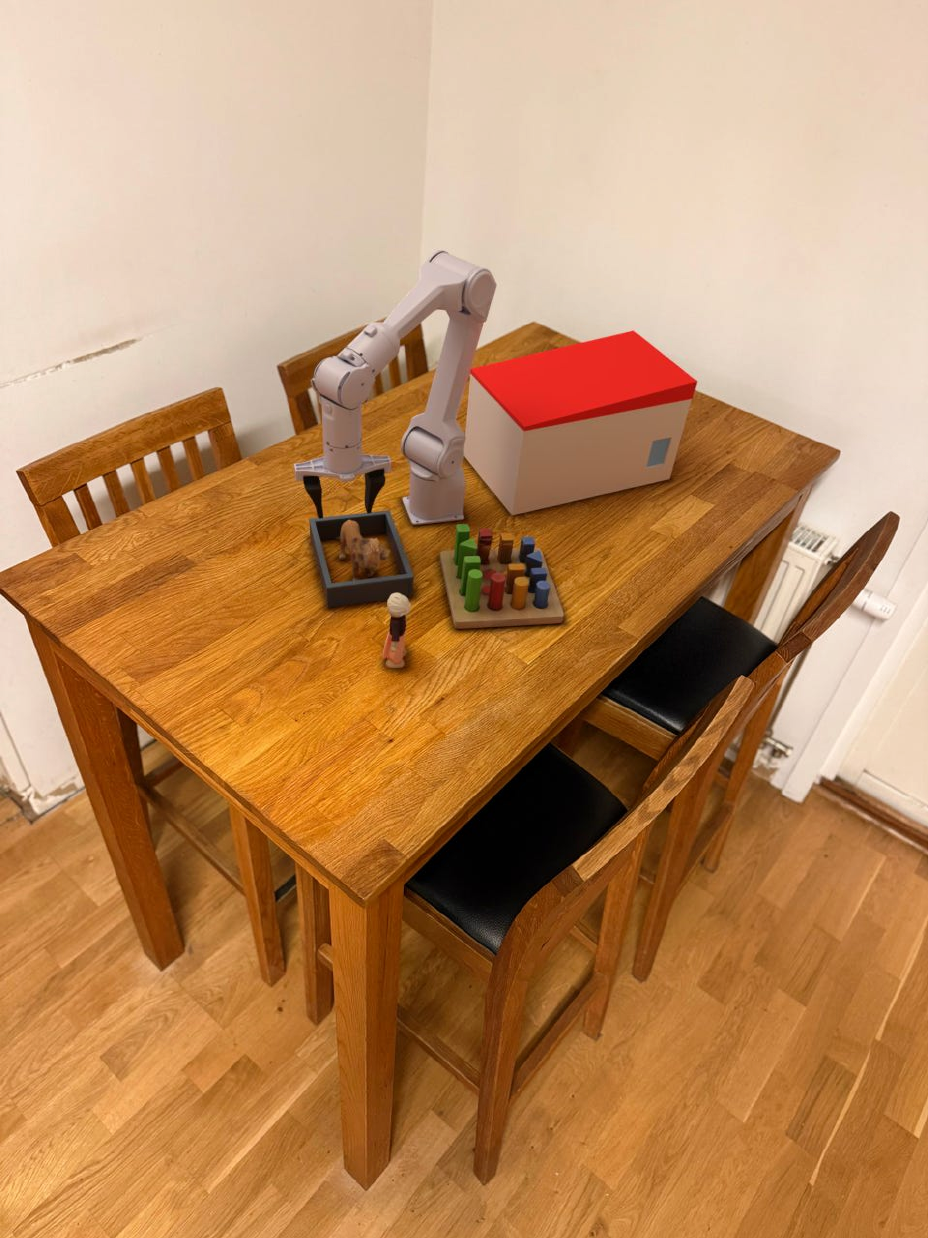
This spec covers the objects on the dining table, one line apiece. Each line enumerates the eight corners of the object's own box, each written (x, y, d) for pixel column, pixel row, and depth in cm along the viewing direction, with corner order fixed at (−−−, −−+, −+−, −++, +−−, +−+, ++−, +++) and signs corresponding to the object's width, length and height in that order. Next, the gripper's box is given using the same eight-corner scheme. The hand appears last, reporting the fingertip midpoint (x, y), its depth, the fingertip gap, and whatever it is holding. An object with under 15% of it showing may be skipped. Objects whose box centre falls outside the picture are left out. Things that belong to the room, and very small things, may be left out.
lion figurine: (392, 586, 143) (394, 542, 137) (363, 597, 140) (363, 553, 134) (350, 536, 151) (349, 493, 145) (322, 545, 149) (320, 501, 143)
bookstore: (671, 478, 172) (698, 381, 157) (512, 515, 159) (526, 412, 145) (613, 424, 185) (634, 330, 170) (462, 454, 172) (471, 355, 158)
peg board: (563, 624, 139) (572, 583, 133) (454, 630, 136) (458, 588, 131) (539, 553, 152) (546, 513, 146) (439, 558, 149) (441, 517, 143)
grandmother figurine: (382, 641, 133) (383, 578, 125) (407, 641, 134) (410, 578, 125) (382, 679, 128) (383, 615, 119) (409, 679, 128) (412, 615, 120)
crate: (389, 529, 153) (389, 510, 151) (413, 596, 141) (413, 576, 138) (310, 538, 150) (308, 518, 147) (327, 608, 138) (326, 588, 135)
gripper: (296, 456, 126) (301, 532, 135) (396, 448, 130) (394, 522, 139) (290, 430, 131) (295, 505, 140) (386, 423, 134) (385, 496, 144)
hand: (344, 512), depth 140 cm, fingers open, 7 cm apart
